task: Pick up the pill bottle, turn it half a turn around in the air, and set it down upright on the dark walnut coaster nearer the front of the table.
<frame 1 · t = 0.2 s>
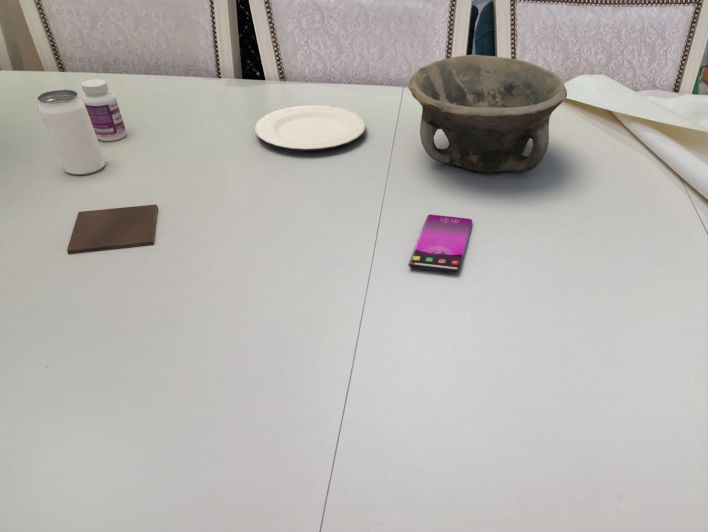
plate: (312, 135, 119), on the table
smartphone: (442, 245, 92), on the table
coaster: (115, 229, 91), on the table
can: (85, 168, 105), on the table
bowl: (482, 162, 114), on the table
pill bottle: (112, 137, 115), on the table
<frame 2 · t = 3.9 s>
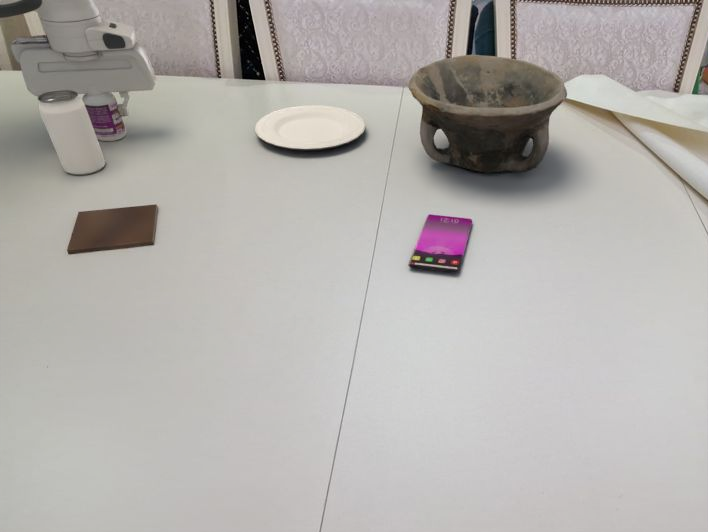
hand: (105, 116, 112), 4 cm above the table, tool pointing down, fingers closed on pill bottle, 5 cm apart
pill bottle: (112, 137, 115), on the table, touching gripper
everything else where it was.
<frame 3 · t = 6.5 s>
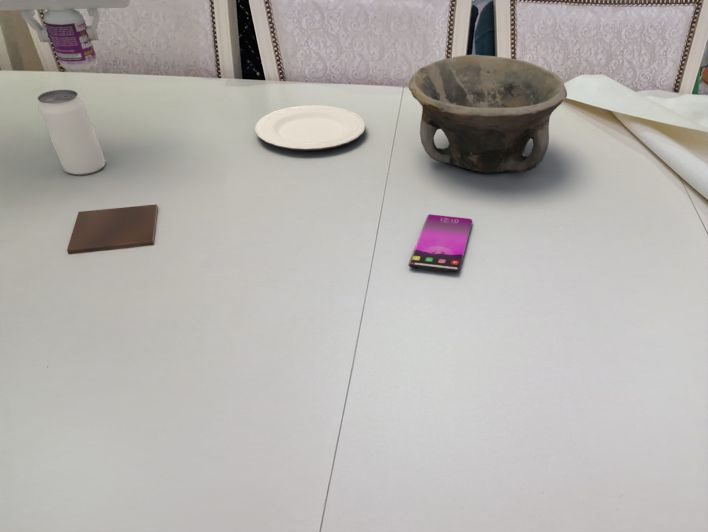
hand: (71, 40, 95), 19 cm above the table, tool pointing down, fingers closed on pill bottle, 5 cm apart
pill bottle: (80, 66, 98), point 15 cm above the table, touching gripper
everything else where it was.
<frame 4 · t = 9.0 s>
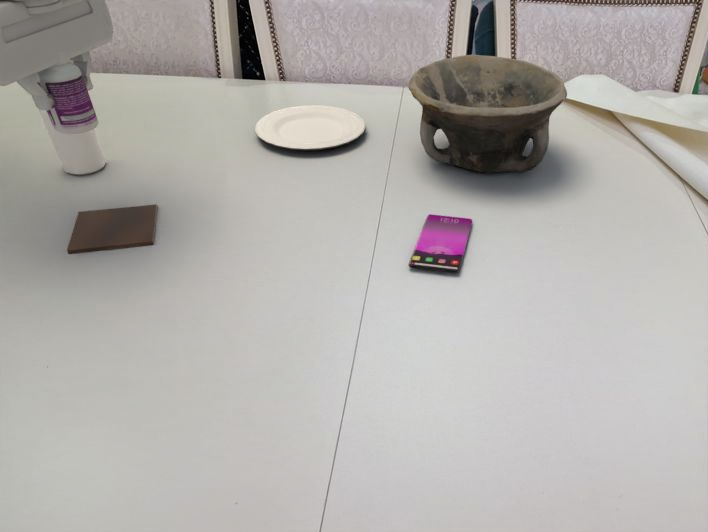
hand: (67, 98, 78), 19 cm above the table, tool pointing down, fingers closed on pill bottle, 5 cm apart
pill bottle: (77, 128, 81), point 15 cm above the table, touching gripper
everything else where it was.
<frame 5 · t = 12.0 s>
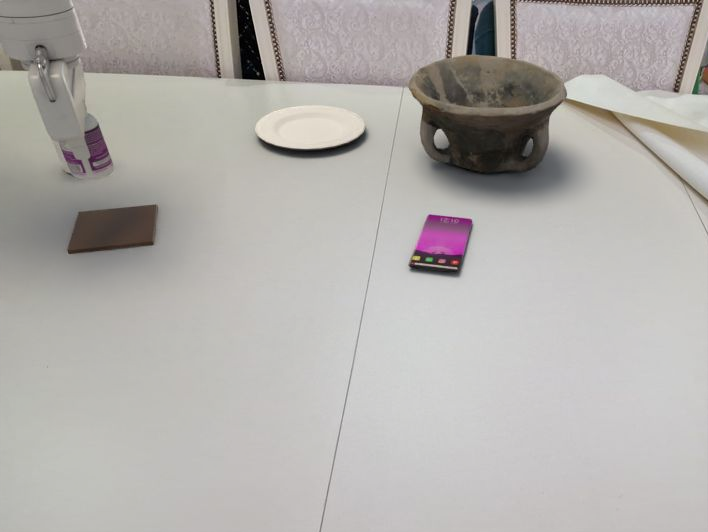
hand: (84, 146, 82), 13 cm above the table, tool pointing down, fingers closed on pill bottle, 5 cm apart
pill bottle: (94, 173, 85), point 9 cm above the table, touching gripper
everything else where it was.
when the fingers open (4 cm above the table, at t = 14.4 s): pill bottle stays where it is, resting on coaster.
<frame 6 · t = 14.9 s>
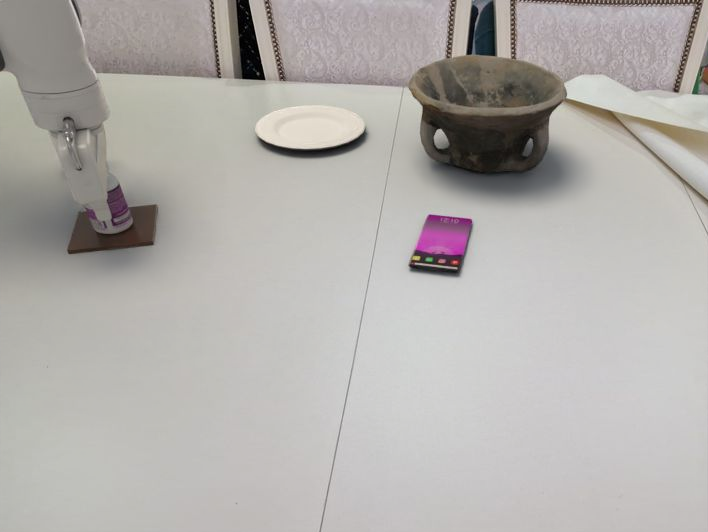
hand: (105, 202, 88), 4 cm above the table, tool pointing down, fingers open, 8 cm apart
pill bottle: (114, 227, 91), resting on coaster
everything else where it was.
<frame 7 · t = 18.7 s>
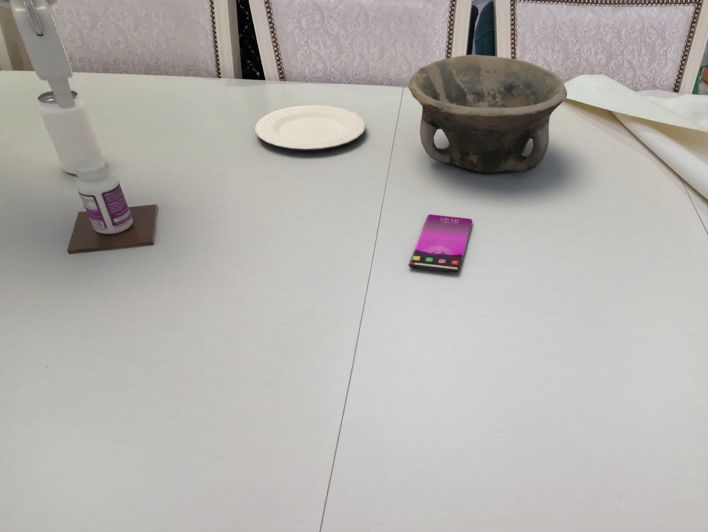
hand: (63, 93, 79), 19 cm above the table, tool pointing down, fingers open, 8 cm apart
nothing on the table moved.
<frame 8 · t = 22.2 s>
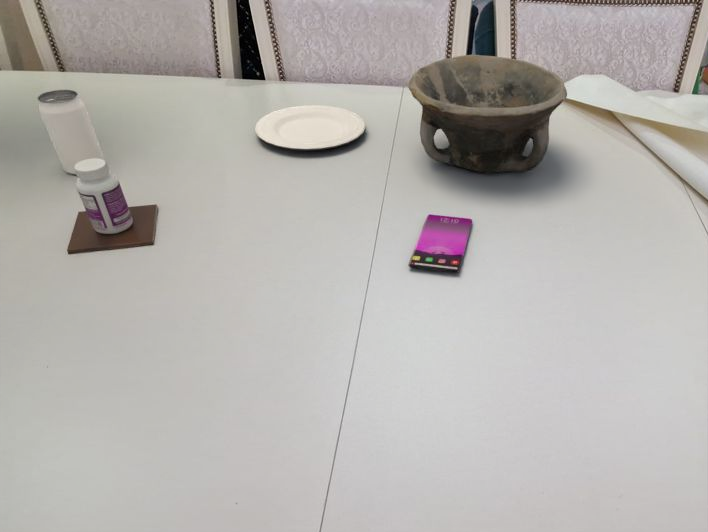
nothing on the table moved.
at the end: pill bottle 0.1 cm off-centre on the coaster, point 0.4 cm above the coaster's base; pill bottle tilted 0°; the gripper is holding nothing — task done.
